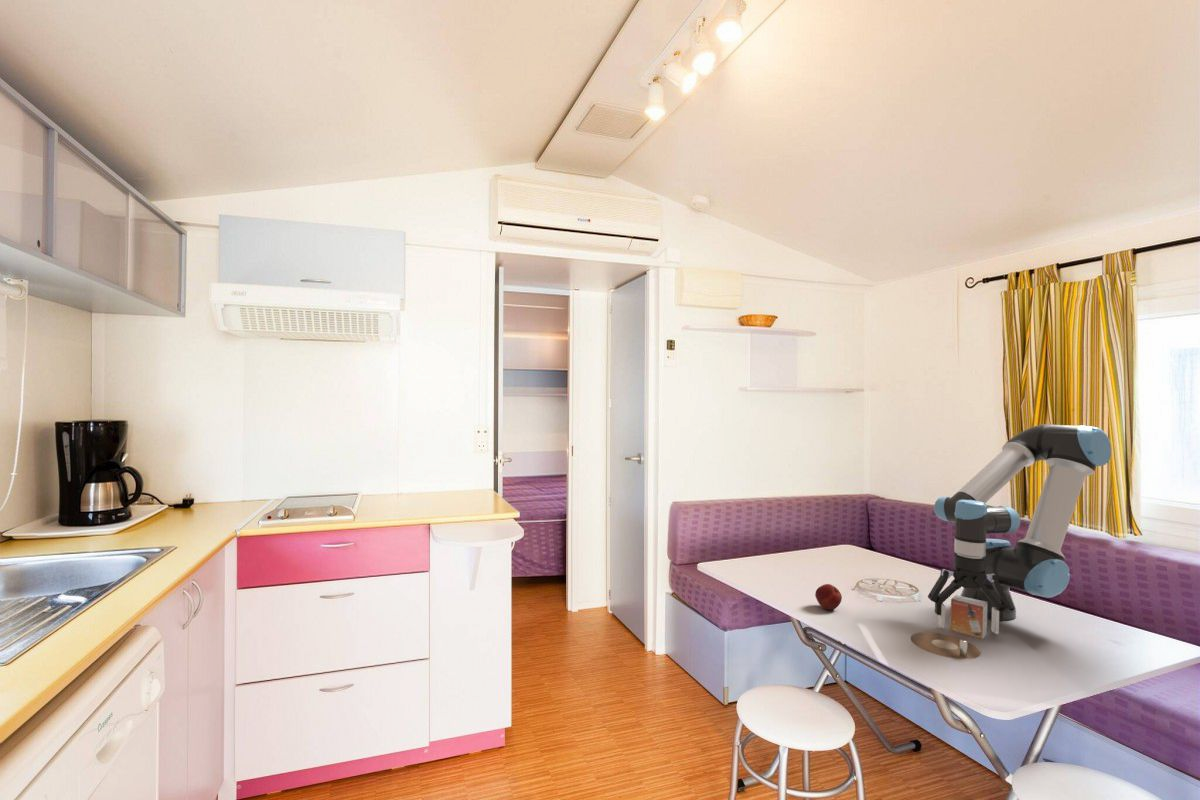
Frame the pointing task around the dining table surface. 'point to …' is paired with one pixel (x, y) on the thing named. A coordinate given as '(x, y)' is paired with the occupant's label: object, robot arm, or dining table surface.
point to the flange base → (943, 645)
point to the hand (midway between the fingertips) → (967, 629)
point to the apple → (828, 596)
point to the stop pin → (963, 648)
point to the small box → (968, 616)
